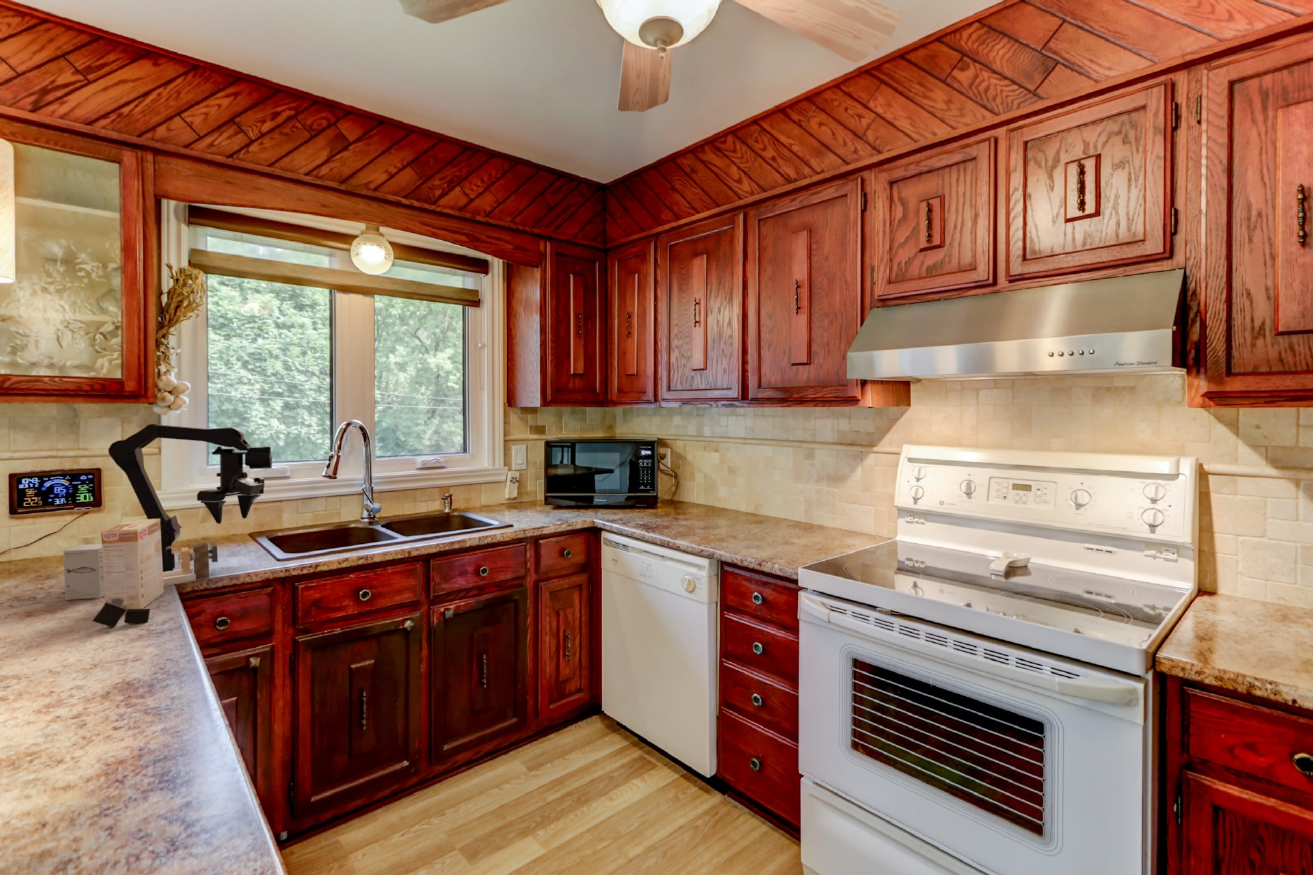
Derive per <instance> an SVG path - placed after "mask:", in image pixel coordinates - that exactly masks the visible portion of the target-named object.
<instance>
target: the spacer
mask: <svg viewBox="0 0 1313 875" xmlns="http://www.w3.org/2000/svg"><path fill="white" fill-rule="evenodd" d="M190 552H191V551H190V549H189V547H188V546H187V547H181V548H180V554H182V562H180V564H181V566H180V567H181V570H182V571H183V572H187V571H190V568H191V561H190Z"/></svg>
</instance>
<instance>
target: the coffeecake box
mask: <svg viewBox="0 0 1313 875" xmlns="http://www.w3.org/2000/svg"><path fill="white" fill-rule="evenodd" d="M100 537H101V544H102V558H103V575H104V593H105V596H104V604H105V603H106V602H108V601H110V602H112V599H114V598H116V599H117V598H120V599H123V600H124V601H123V600H122V601H123V603H122V606H127V607H126V608H127V609H145V607H147V606H148V605H149V604H151V603H152V602H153V601H155V600H157V598H159V597H160V596H162V595H163V594H164V593H165V590H164V589H165V588H164V586H163V566H162V547H161V528H160V519H147V518H145V519H144V518H140V519H139V518H137V519H136V518H135V519H129V520H126V521H123V522H122V523H119V524H116V525H114V526H112V527H111V526H110V527H109V528H106V529H105V530H102V531H100ZM125 613H126V611H125Z"/></svg>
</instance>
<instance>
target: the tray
mask: <svg viewBox="0 0 1313 875" xmlns="http://www.w3.org/2000/svg"><path fill="white" fill-rule="evenodd" d="M196 581H197V580H196V575H195V574H194V567H190V571H187V572H183V571H182V569H175V570H174V569H173V571H167V572H163V587H164V586H172V585H179V584H185V583H193V582H196Z"/></svg>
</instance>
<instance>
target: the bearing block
mask: <svg viewBox="0 0 1313 875" xmlns="http://www.w3.org/2000/svg"><path fill="white" fill-rule="evenodd" d="M208 550H209V544H208V543H207V542H206V541H205V542H198V543H197V542H196V543H192V552H195V561H193V574H195V575H196V581H197V580H204V579H210V562H209V561H210V560H209V554H208Z"/></svg>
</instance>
